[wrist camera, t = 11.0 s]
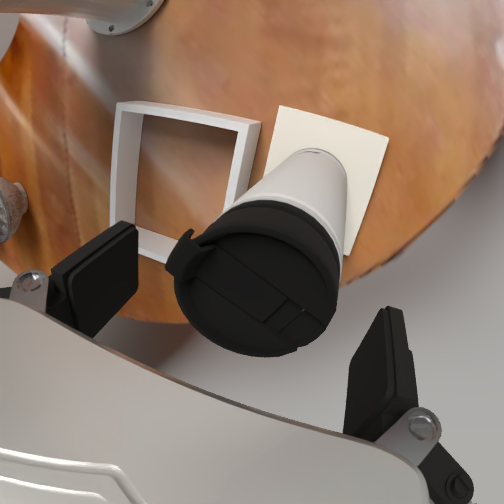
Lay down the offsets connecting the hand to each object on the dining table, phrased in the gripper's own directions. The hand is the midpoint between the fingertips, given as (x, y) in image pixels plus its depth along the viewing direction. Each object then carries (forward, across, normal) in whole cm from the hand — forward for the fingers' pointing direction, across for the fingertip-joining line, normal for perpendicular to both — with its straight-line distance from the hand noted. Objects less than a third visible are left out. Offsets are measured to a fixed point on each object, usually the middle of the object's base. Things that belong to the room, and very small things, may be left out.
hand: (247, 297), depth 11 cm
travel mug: (+20, 0, +1) cm, 20 cm away
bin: (+21, +12, +5) cm, 25 cm away
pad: (+21, -1, +1) cm, 21 cm away
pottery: (+22, +51, +18) cm, 59 cm away
